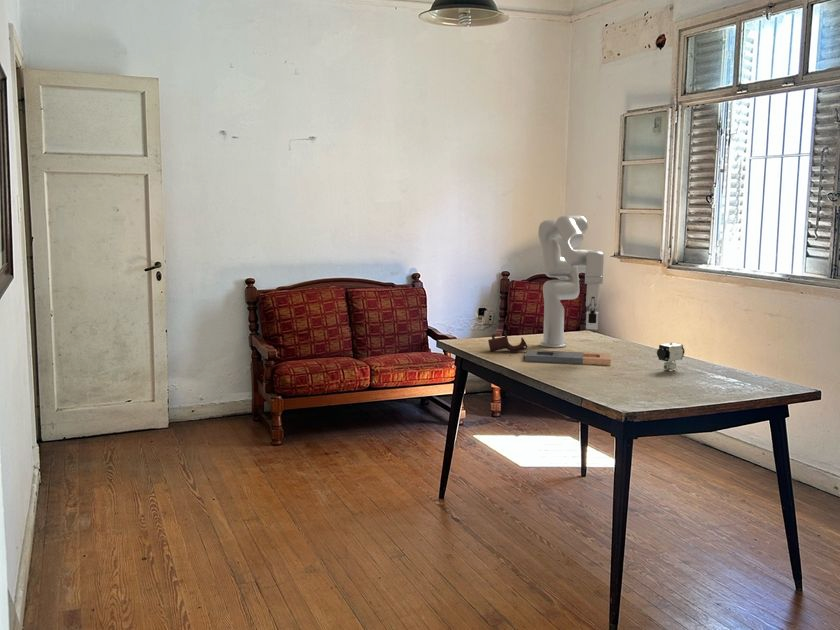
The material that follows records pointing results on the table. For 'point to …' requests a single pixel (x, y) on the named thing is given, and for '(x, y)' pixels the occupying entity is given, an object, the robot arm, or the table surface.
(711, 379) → the table surface
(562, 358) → the grey copper flat plate
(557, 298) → the robot arm
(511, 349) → the bracket
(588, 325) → the grey rectangular block
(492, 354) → the table surface
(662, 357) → the pneumatic valve
